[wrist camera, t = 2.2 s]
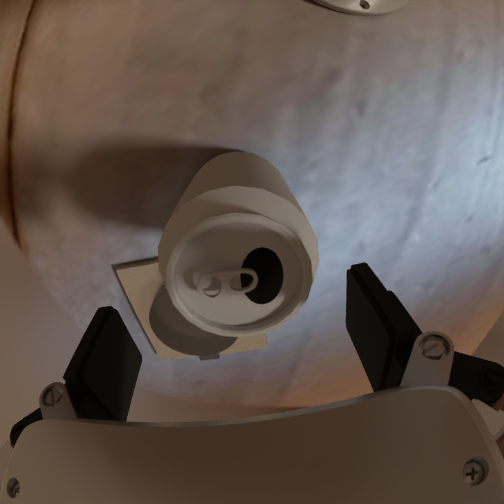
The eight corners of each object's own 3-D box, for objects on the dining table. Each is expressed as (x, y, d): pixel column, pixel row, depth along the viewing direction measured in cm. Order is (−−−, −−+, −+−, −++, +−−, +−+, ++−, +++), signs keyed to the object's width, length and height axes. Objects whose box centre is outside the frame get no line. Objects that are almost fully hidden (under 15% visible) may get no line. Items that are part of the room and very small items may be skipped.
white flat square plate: (118, 265, 25) (109, 280, 23) (247, 242, 24) (248, 256, 22) (162, 354, 30) (158, 370, 28) (267, 342, 30) (269, 359, 28)
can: (285, 238, 24) (319, 344, 14) (195, 242, 24) (168, 351, 13) (286, 148, 21) (337, 195, 10) (185, 153, 20) (131, 206, 10)
